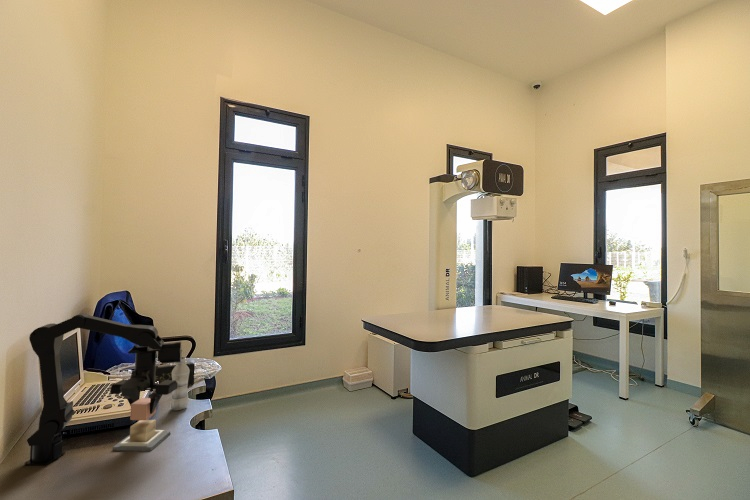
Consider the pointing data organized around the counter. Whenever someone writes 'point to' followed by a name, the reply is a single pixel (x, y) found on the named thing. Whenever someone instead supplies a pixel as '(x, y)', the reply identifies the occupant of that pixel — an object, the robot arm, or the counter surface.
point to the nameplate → (166, 373)
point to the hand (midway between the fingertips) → (143, 413)
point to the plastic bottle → (180, 385)
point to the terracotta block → (141, 409)
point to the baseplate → (142, 446)
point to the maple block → (142, 431)
